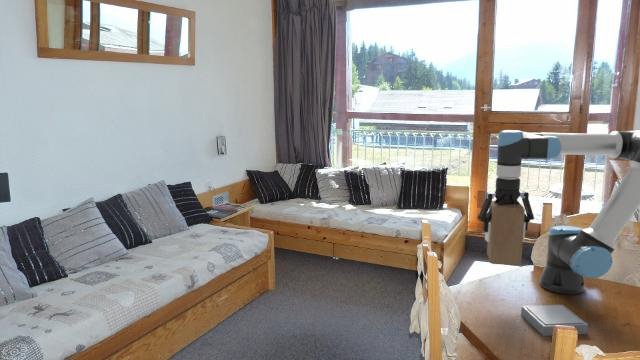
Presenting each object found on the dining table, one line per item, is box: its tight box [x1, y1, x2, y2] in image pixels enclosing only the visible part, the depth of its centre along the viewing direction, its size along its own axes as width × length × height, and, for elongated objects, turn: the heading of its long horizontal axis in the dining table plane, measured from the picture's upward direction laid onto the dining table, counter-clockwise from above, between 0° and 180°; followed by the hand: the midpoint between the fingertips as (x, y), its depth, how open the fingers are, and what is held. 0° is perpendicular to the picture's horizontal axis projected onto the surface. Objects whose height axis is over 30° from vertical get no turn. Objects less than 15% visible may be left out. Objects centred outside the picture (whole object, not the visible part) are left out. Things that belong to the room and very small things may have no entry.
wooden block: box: [486, 200, 526, 266], centre depth 167 cm, size 10×10×20 cm
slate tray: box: [520, 304, 589, 337], centre depth 156 cm, size 14×14×3 cm
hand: (504, 240), depth 168 cm, fingers closed on wooden block, 11 cm apart
